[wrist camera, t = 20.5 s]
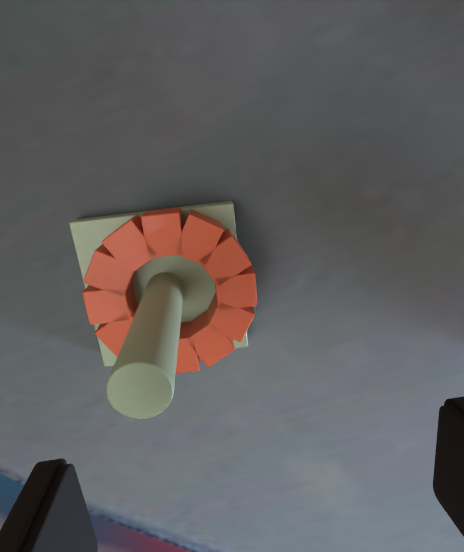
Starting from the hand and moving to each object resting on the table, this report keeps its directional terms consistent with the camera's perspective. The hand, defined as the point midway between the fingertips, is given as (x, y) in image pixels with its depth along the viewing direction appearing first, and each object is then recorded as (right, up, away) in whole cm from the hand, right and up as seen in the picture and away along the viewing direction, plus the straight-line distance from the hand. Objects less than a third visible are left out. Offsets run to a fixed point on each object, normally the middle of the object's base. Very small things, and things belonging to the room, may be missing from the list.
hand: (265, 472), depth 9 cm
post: (-5, +5, +16) cm, 17 cm away
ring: (-5, +4, +14) cm, 16 cm away
